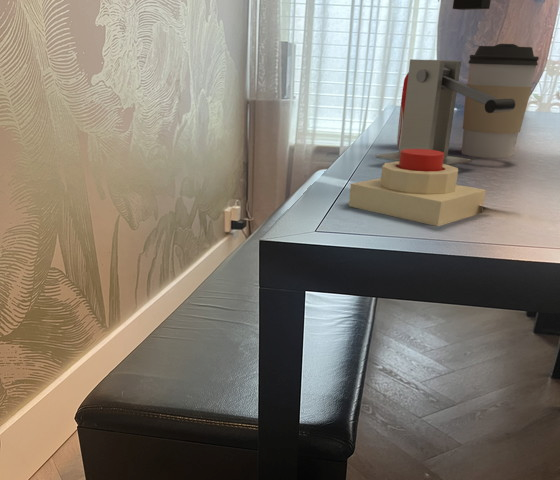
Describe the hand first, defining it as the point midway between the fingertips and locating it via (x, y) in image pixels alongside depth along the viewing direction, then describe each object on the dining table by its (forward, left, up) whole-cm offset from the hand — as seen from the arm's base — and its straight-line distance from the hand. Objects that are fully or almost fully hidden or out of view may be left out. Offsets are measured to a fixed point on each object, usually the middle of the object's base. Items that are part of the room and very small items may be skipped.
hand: (470, 8), depth 53 cm
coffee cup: (+12, -31, -17) cm, 38 cm away
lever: (+11, -19, -8) cm, 24 cm away
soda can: (+21, -28, -17) cm, 39 cm away
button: (+1, +4, -13) cm, 14 cm away
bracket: (+15, -19, -17) cm, 30 cm away
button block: (+1, +4, -17) cm, 17 cm away
